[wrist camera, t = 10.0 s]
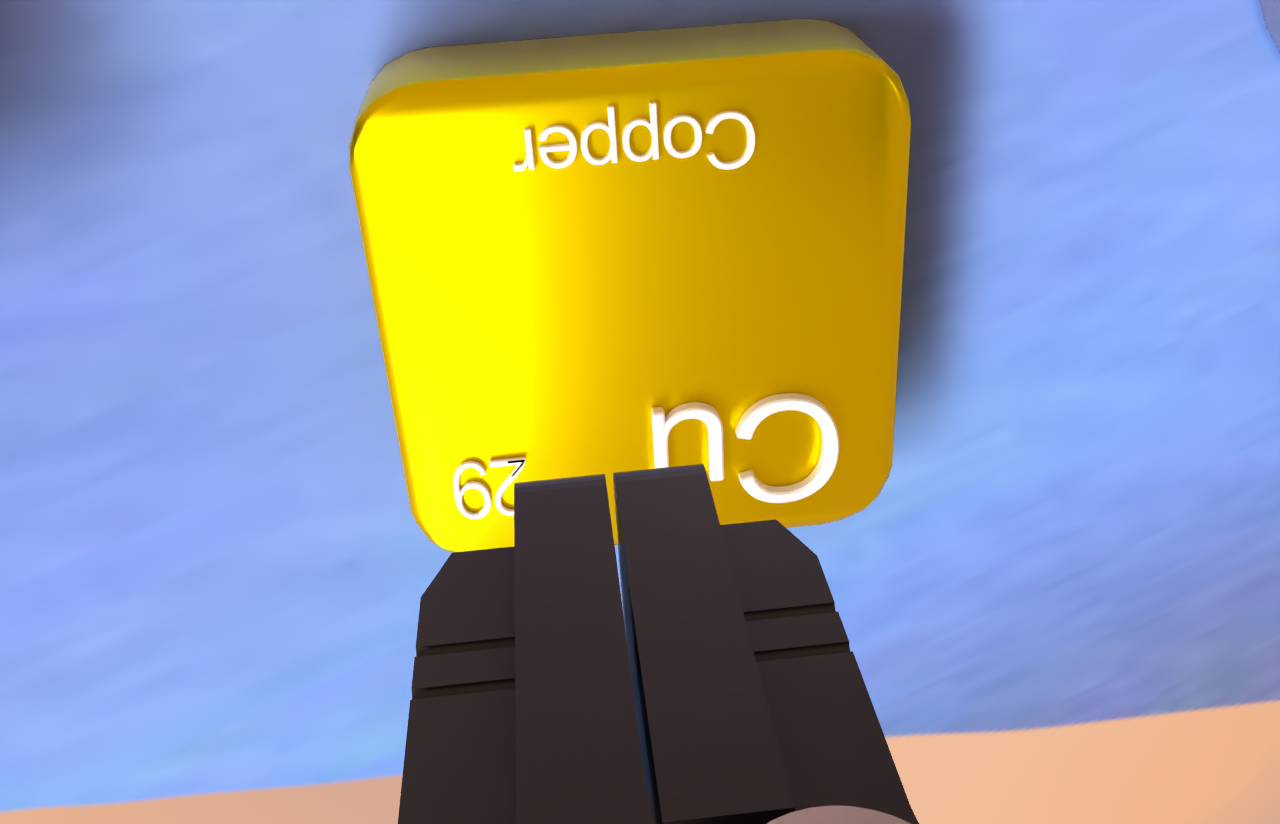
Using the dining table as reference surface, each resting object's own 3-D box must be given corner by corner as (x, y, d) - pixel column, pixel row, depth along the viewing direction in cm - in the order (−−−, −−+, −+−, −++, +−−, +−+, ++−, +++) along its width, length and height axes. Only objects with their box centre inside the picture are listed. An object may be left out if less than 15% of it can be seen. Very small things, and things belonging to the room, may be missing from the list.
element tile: (876, 9, 35) (924, 47, 31) (858, 452, 42) (896, 530, 38) (352, 49, 34) (330, 94, 30) (427, 493, 42) (418, 578, 38)
